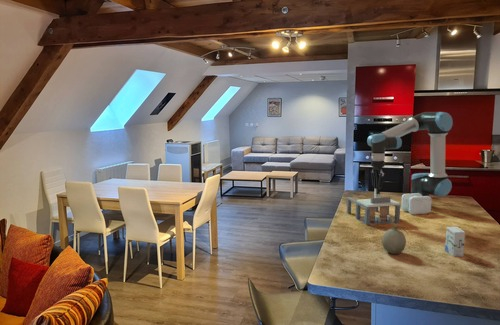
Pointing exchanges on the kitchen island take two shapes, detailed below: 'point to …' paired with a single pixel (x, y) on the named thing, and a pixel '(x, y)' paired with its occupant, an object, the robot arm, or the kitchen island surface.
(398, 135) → the robot arm
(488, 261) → the kitchen island surface
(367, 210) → the housing
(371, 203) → the lid
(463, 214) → the kitchen island surface
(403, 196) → the cable organizer
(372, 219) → the seated rounded capsule
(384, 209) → the pink rounded capsule
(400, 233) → the fruit
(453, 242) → the ink box
